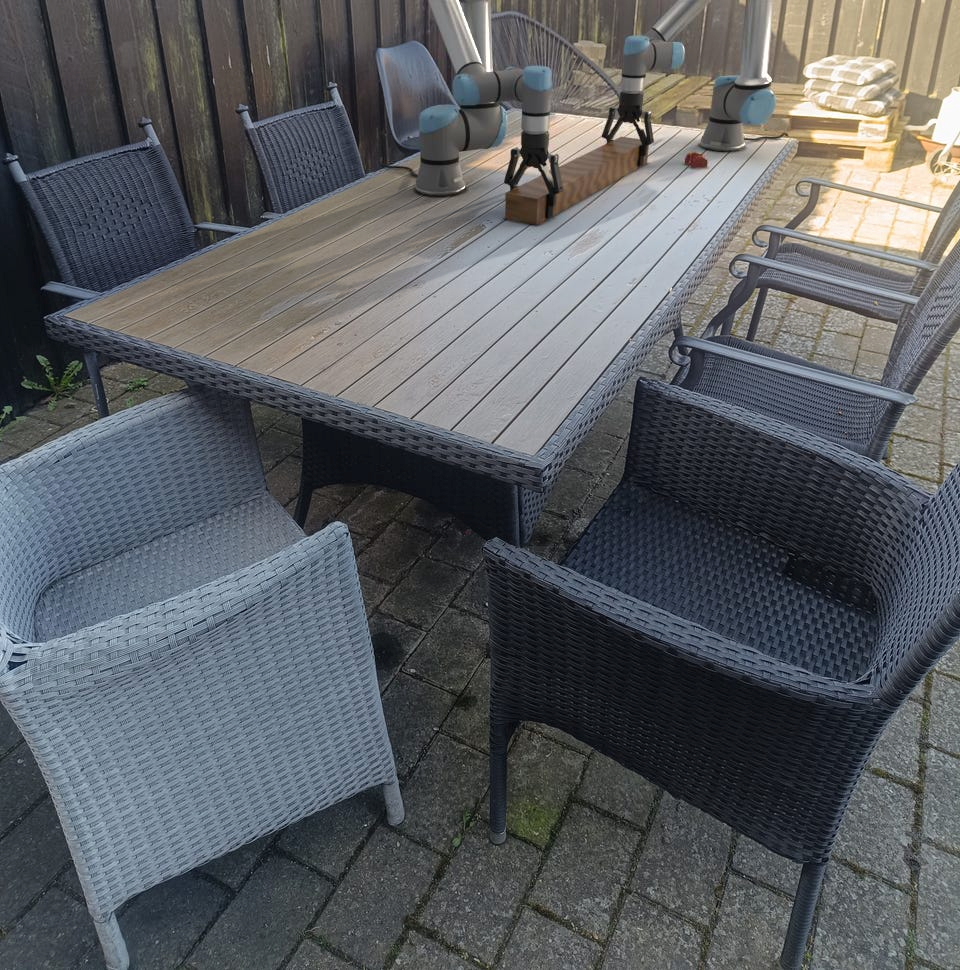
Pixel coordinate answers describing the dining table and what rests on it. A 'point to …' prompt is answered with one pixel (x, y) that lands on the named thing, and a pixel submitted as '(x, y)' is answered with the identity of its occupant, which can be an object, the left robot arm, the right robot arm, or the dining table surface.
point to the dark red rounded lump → (696, 160)
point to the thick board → (574, 180)
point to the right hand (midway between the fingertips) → (625, 163)
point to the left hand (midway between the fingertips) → (532, 213)
